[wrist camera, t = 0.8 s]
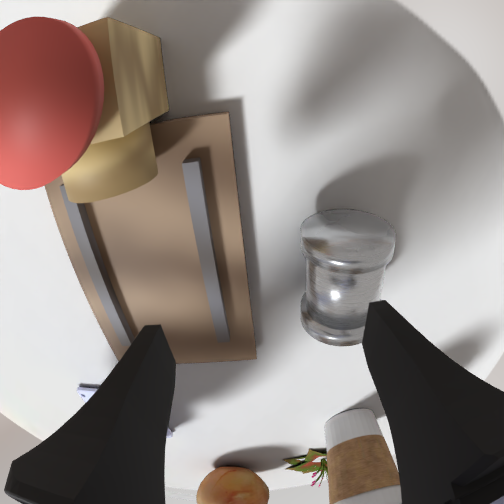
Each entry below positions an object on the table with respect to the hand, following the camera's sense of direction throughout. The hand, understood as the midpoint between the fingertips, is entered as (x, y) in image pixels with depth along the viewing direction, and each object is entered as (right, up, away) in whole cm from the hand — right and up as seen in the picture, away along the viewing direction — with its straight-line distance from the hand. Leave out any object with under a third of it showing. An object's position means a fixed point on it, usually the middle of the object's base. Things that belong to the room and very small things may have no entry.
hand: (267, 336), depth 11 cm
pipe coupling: (+5, +3, +9) cm, 10 cm away
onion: (-3, -28, +27) cm, 39 cm away
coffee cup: (+11, -16, +21) cm, 29 cm away
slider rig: (-7, +4, +7) cm, 11 cm away
